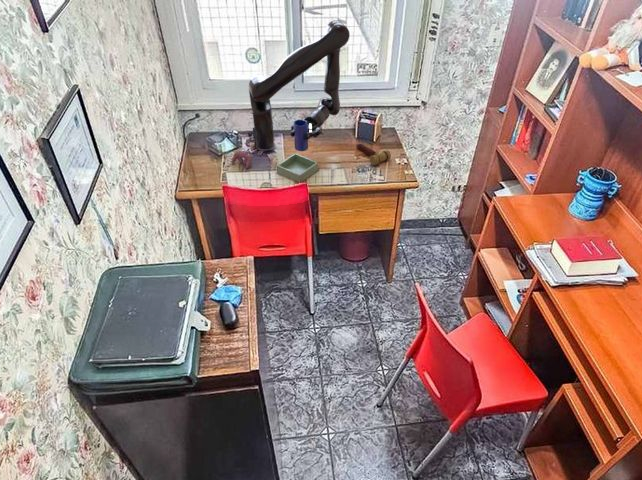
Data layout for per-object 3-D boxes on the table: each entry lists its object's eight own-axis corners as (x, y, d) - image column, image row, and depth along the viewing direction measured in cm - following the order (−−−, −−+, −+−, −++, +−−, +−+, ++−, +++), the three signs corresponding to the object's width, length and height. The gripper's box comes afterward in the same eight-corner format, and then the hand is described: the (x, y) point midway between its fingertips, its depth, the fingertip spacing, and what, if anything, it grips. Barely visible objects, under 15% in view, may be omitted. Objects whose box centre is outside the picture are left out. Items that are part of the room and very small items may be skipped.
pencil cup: (292, 148, 214) (290, 123, 205) (300, 143, 217) (299, 118, 208) (302, 152, 212) (301, 127, 203) (310, 147, 215) (310, 122, 206)
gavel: (348, 142, 235) (363, 136, 239) (348, 151, 238) (363, 145, 242) (375, 158, 223) (391, 151, 227) (375, 166, 226) (390, 160, 230)
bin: (276, 173, 220) (276, 165, 217) (295, 160, 228) (294, 153, 225) (300, 183, 215) (299, 175, 212) (318, 170, 223) (318, 162, 220)
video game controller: (252, 168, 225) (254, 153, 222) (247, 168, 221) (249, 153, 218) (235, 163, 227) (237, 148, 225) (230, 163, 223) (231, 148, 221)
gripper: (300, 109, 217) (283, 125, 207) (328, 116, 214) (312, 132, 204) (301, 124, 223) (284, 140, 213) (328, 131, 220) (313, 148, 209)
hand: (298, 136), depth 208 cm, fingers closed on pencil cup, 6 cm apart
